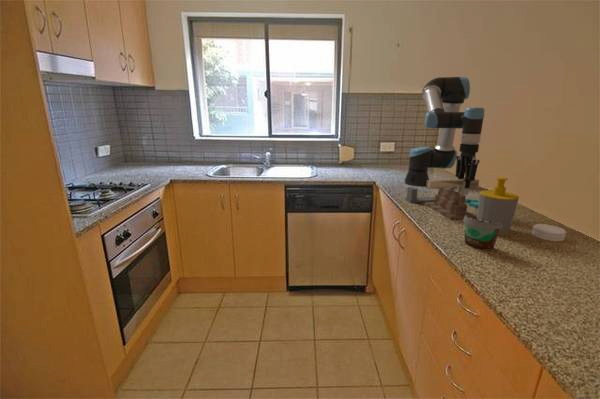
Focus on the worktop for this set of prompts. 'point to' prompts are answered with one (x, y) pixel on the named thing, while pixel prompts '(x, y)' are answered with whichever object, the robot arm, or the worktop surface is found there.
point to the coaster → (549, 232)
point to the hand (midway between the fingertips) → (462, 193)
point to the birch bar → (449, 183)
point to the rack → (414, 199)
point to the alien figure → (472, 202)
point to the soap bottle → (498, 206)
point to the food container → (481, 232)
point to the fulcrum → (450, 204)
